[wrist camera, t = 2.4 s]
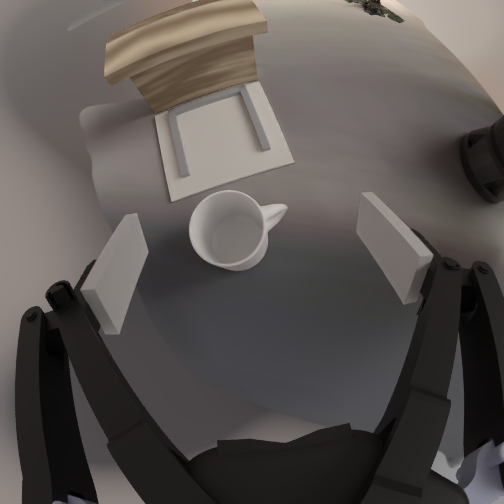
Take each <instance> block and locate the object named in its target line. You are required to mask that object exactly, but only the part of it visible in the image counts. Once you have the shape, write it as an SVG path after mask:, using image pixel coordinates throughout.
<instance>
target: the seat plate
mask: <svg viewBox="0 0 504 504" xmlns="http://www.w3.org/2000/svg"><path fill="white" fill-rule="evenodd" d="M155 121H156V127H157V132H158V138H159V144H160V149H161V154H162V159H163V164H164V169H165V174H166V179H167V184H168V189H169V193H170V198H171V202H172V203H173V202H176V201H179V200H181V199H184V198H187V197H190V196H192V195H195V194H198V193H201V192H204V191H207V190H210V189H213V188H216V187H219V186H222V185H225V184H228V183H231V182H234V181H237V180H240V179H243V178H246V177H250V176H253V175H256V174H259V173H263V172H266V171H270V170H273V169H276V168H280V167H283V166H287V165H290V164H294V160H293V158H292V155H291V153H290V150H289V148H288V146H287V143H286V141H285V138H284V136H283V134H282V131H281V129H280V127H279V124H278V122H277V120H276V117H275V115H274V113H273V111H272V108H271V106H270V104H269V102H268V100H267V97H266V95H265V93H264V91H263V89H262V87H261V85H260V83H259V82H255V83H251V84H247V85H242V86H239V87H235V88H232V89H228V90H225V91H222V92H218V93H215V94H212V95H209V96H206V97H203V98H200V99H197V100H194V101H191V102H189V103H186V104H183V105H181V106H178V107H175V108H173V109H170V110H168V111H166V112H164V113H161V114H159V115H156V116H155Z"/></svg>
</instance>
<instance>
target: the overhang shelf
mask: <svg viewBox="0 0 504 504" xmlns="http://www.w3.org/2000/svg"><path fill="white" fill-rule="evenodd" d="M266 32H268V30H267V20H266V19H265V17H264V16H263V15H262V13H261V12H260V11H259V9H258V8H257V7H256V5H255V4H254V3H253V1H252V0H199V1H195V2H192V3H189V4H186V5H183V6H180V7H177V8H174V9H171V10H168V11H165V12H163V13H160V14H157V15H155V16H152V17H150V18H147V19H145V20H143V21H140V22H138V23H136V24H134V25H131V26H129V27H127V28H125V29H123V30H121V31H119V32H117V33H115V34H113V35H111V36H109V37H107V43H106V55H105V70H104V78H105V79H106V80H107V81H108V83H109V84H110V85H111V86H113V85H115V84H117V83H119V82H121V81H123V80H125V79H127V78H129V77H130V79H131V80H132V81H133V83H134V84H135V86H136V87H137V89H138V90H139V91H140V93H141V94H142V96H143V97H144V99H145V100H146V101H147V103H148V104H149V106H150V107H151V109H152V110H153V111H154V113H155V114H156V113H158V112H160V111H163V110H165V109H168V108H170V107H173V106H175V105H178V104H181V103H183V102H186V101H189V100H192V99H194V98H197V97H200V96H203V95H206V94H209V93H212V92H215V91H219V90H222V89H225V88H228V87H232V86H235V85H239V84H243V83H246V82H250V81H254V80H257V70H256V61H255V53H254V44H253V36H252V35H256V34H261V33H266Z"/></svg>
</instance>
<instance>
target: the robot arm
mask: <svg viewBox="0 0 504 504" xmlns="http://www.w3.org/2000/svg"><path fill="white" fill-rule="evenodd" d="M460 154H461V160H462V164H463V167H464V170H465V173H466V175H467V177H468V179H469V181H470V182H471V184H472V185H473V187H474V188H475V189H476V191H477V192H478V193H479V194H480V195H481V196H482V197H483V198H485V199H486V200H488V201H490V202H494V203H497V202H501V201H503V200H504V116H503V117H501V118H500V119H499V120H498V121H497V122H495V123H494V124H493V125H492V126H490V127H485V128H481V129H477V130H473V131H471V132H470V133H469V134H467V135H466V136H465V137H464V138H463V140H462V142H461V147H460ZM356 233H357V234H358V236H359V237H360V239H361V240H362V241H363V243H364V244H365V246H366V247H367V249H368V250H369V252H370V253H371V255H372V256H373V257H374V259H375V260H376V262H377V263H378V265H379V266H380V268H381V269H382V271H383V273H384V274H385V276H386V277H387V279H388V280H389V282H390V283H391V285H392V287H393V288H394V290H395V291H396V293H397V295H398V296H399V298H400V300H401V301H402V303H403V304H404V305H405V304H409V303H414V302H416V301H417V299H418V296H419V294H420V293H421V294H422V296H423V297H424V298H423V301H422V303H421V306H420V308H419V310H418V312H417V315H418V319H417V323H416V327H415V330H414V334H413V337H412V340H411V344H410V347H409V350H408V353H407V356H406V359H405V362H404V365H403V368H402V371H401V374H400V376H399V379H398V382H397V384H396V387H395V390H394V392H393V395H392V397H391V399H390V402H389V404H388V407H387V409H386V411H385V413H384V416H383V418H382V420H381V421H380V423H379V425H378V426H377V428H376V429H375V431H374V433H370V432H367V431H362V430H351V426H350V423H347V424H343V425H339V426H334V427H330V428H325V429H320V430H317V431H315V432H312V433H310V434H308V435H305V436H303V437H300V438H298V439H296V440H293V441H290V442H287V443H280V442H271V441H263V440H255V439H239V440H218V441H217V445H218V446H217V447H215V448H212V449H209V450H207V451H204V452H202V453H200V454H198V455H197V456H195V457H194V458H192V459H191V460H190V461H189V460H188V459H187V458H186V457H185V456H184V455H183V454H182V453H181V452H180V451H179V450H178V449H177V448H176V447H175V445H174V444H173V443H172V442H171V441H170V440H169V439H168V437H167V436H166V435H165V433H164V432H163V431H162V430H161V429H160V427H159V426H158V425H157V423H156V422H155V421H154V419H153V418H152V417H151V415H150V414H149V413H148V411H147V410H146V408H145V407H144V406H143V404H142V403H141V401H140V400H139V398H138V397H137V396H136V394H135V393H134V391H133V390H132V388H131V387H130V385H129V384H128V382H127V380H126V379H125V377H124V376H123V374H122V373H121V371H120V369H119V368H118V366H117V364H116V363H115V361H114V359H113V358H112V356H111V354H110V352H109V351H108V349H107V347H106V345H105V344H104V342H103V340H102V338H101V336H100V335H99V333H98V331H99V329H100V326H101V327H102V329H103V331H104V332H105V334H120V331H121V328H122V325H123V322H124V318H125V315H126V312H127V309H128V306H129V304H130V300H131V297H132V295H133V292H134V289H135V287H136V284H137V281H138V278H139V276H140V273H141V270H142V268H143V265H144V263H145V260H146V257H147V255H148V249H147V245H146V242H145V239H144V235H143V232H142V229H141V225H140V222H139V218H138V215H137V213H133V214H127V215H125V216H124V218H123V219H122V221H121V222H120V224H119V225H118V227H117V228H116V230H115V231H114V233H113V235H112V236H111V238H110V240H109V241H108V243H107V244H106V246H105V247H104V249H103V251H102V252H101V254H100V256H99V257H98V259H97V260H93V261H92V262H91V263H90V264H89V265H88V266H87V267H86V269H85V271H84V273H83V274H82V276H81V278H80V280H79V281H78V283H77V285H76V286H75V288H74V290H73V289H72V287H71V285H70V283H69V282H68V281H65V280H63V281H59V282H57V283H55V284H53V285H52V286H51V287H50V288H49V289H48V290H47V292H46V296H45V297H46V299H47V301H48V303H49V304H50V306H51V307H52V309H53V311H50V312H47V313H44V312H43V311H42V309H41V308H40V307H38V306H35V307H31V308H30V309H28V310H27V311H26V312H25V313H24V315H23V316H22V319H21V324H20V331H19V339H18V348H17V359H16V377H15V378H16V379H15V412H16V413H15V415H16V430H17V441H18V450H19V458H20V464H21V470H22V475H23V481H22V504H98V499H97V494H96V490H95V486H94V483H93V479H92V476H91V473H90V470H89V467H88V463H87V459H86V456H85V452H84V448H83V444H82V440H81V436H80V431H79V427H78V422H77V417H76V412H75V406H74V400H73V393H72V386H71V378H70V369H69V358H70V361H71V363H72V366H73V368H74V371H75V373H76V376H77V378H78V380H79V383H80V385H81V387H82V389H83V392H84V394H85V396H86V398H87V400H88V402H89V404H90V406H91V408H92V410H93V412H94V414H95V416H96V418H97V420H98V422H99V424H100V426H101V427H102V429H103V431H104V433H105V434H106V436H107V438H108V441H109V442H108V443H107V447H108V449H109V451H110V453H111V455H112V457H113V458H114V460H115V461H116V463H117V465H118V466H119V468H120V469H121V471H122V472H123V474H124V475H125V477H126V478H127V479H128V481H129V482H130V484H131V485H132V487H133V488H134V489H135V491H136V492H137V493H138V495H139V496H140V497H141V499H142V500H143V501H144V502H145V504H490V503H492V502H493V501H495V500H496V499H498V498H499V497H501V496H503V495H504V297H503V294H502V292H501V289H500V286H499V284H498V281H497V279H496V276H495V274H494V272H493V270H492V268H491V267H490V266H489V265H488V264H486V263H485V262H481V261H475V262H474V263H473V265H472V267H471V269H463V268H461V266H460V265H459V263H458V262H456V261H455V260H453V259H451V258H447V257H441V256H440V254H439V253H438V252H437V251H436V250H435V249H434V248H433V247H432V246H431V245H430V244H429V242H428V241H427V240H425V238H424V237H423V236H422V235H421V234H420V233H419V232H417V231H415V230H414V229H412V228H411V229H409V228H408V227H407V226H406V225H405V224H404V223H403V221H402V220H401V219H400V218H399V217H398V216H397V215H396V214H395V213H394V212H392V211H391V210H390V209H389V208H388V207H387V206H386V205H385V204H384V203H383V202H382V201H381V200H380V199H379V198H378V197H377V196H376V195H375V194H374V193H373V192H361V193H360V203H359V211H358V219H357V227H356ZM458 331H459V338H460V346H461V355H462V366H463V381H464V442H463V445H464V458H465V459H464V460H463V462H462V465H461V467H460V468H459V469H458V470H457V473H456V478H457V480H458V481H459V482H458V484H455V483H454V482H452V481H450V480H448V479H447V478H445V477H443V476H441V475H440V474H438V473H436V472H435V471H433V470H431V467H432V464H433V462H434V459H435V456H436V454H437V451H438V448H439V445H440V442H441V439H442V436H443V433H444V429H445V426H446V423H447V419H448V415H449V412H450V407H451V401H450V400H449V399H447V392H448V388H449V384H450V379H451V374H452V369H453V363H454V357H455V351H456V344H457V337H458ZM68 355H69V358H68Z"/></svg>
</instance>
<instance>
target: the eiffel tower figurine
mask: <svg viewBox="0 0 504 504" xmlns="http://www.w3.org/2000/svg"><path fill="white" fill-rule="evenodd" d="M346 1H347V2H349V3H352V2H353V3H360V4H363V8H364V11H365V12H367V13H369V14H370V15H379V16H382V17H385V15H384V14H388V18H390V19H391V20H393V21H396V22H398V23H401V22H404V20H403V19H402V18H400V17H399V16H397V15H396V14H394V13H393V12H391V11H390V10H389V9H387V8H386V7H384V6H382V5H381V3H380V0H346Z"/></svg>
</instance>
